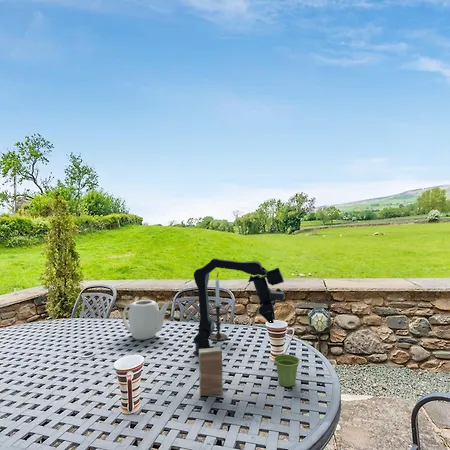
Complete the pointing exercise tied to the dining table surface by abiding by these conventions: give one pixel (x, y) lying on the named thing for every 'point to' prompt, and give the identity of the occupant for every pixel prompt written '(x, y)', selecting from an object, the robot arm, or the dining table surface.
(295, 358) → the plant pot
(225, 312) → the candlestick
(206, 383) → the tile
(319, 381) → the dining table surface
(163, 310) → the white lidless teapot
